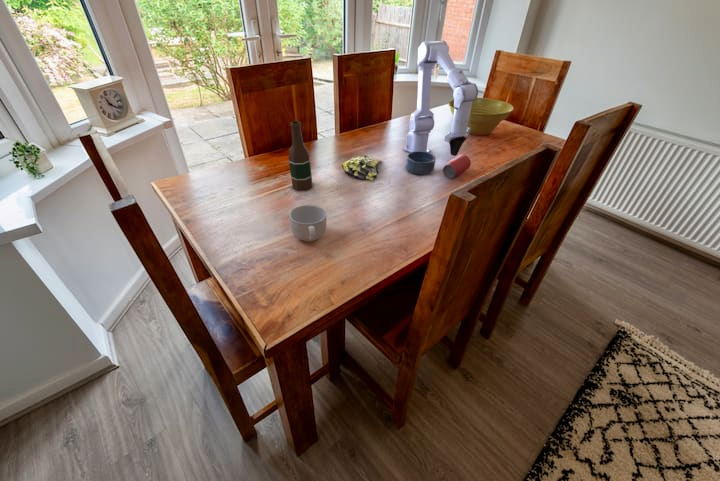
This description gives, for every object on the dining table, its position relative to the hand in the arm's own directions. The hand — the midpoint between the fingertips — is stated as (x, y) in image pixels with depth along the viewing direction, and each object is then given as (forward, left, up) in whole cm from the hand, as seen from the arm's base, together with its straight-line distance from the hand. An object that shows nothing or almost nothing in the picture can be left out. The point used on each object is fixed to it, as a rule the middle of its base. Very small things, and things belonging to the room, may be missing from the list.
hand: (453, 154), depth 127 cm
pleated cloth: (-27, -22, -8) cm, 36 cm away
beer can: (+2, +7, -5) cm, 8 cm away
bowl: (-11, -6, -8) cm, 15 cm away
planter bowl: (-19, +53, -8) cm, 57 cm away
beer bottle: (-33, -50, -8) cm, 61 cm away
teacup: (-5, -68, -8) cm, 69 cm away
